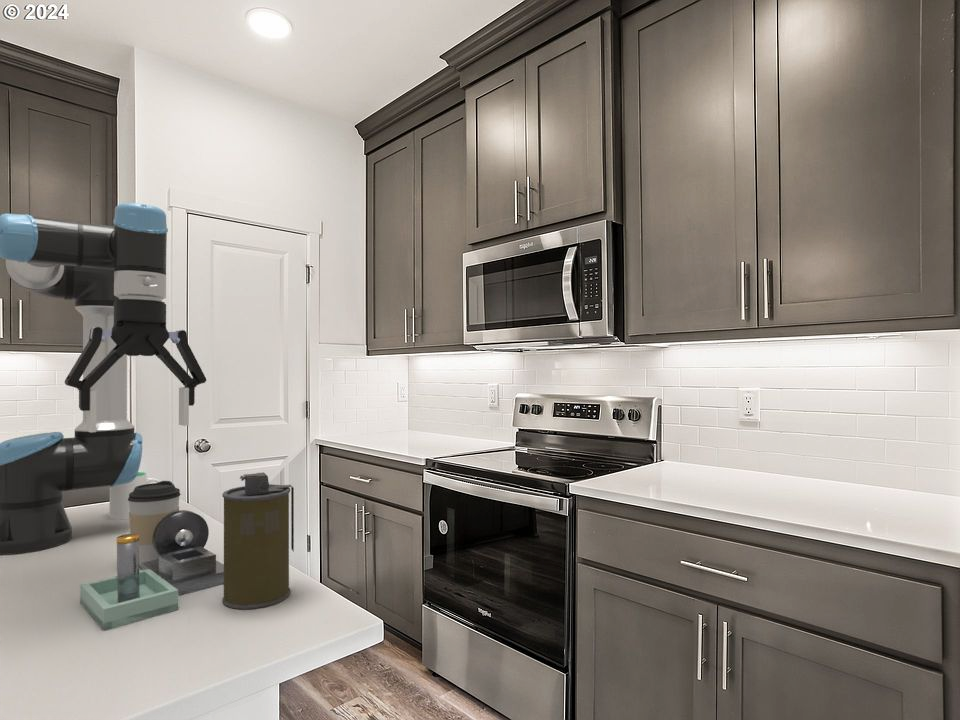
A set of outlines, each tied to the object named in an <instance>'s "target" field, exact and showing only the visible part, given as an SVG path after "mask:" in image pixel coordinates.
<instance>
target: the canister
mask: <svg viewBox="0 0 960 720" xmlns="http://www.w3.org/2000/svg"><path fill="white" fill-rule="evenodd" d="M239 479H240V481H241V482H243V481H244V486H243V485H242V486H238V487H233V488H229V489H227V490H225V491H223V493H221V494H222V495H221V496H222V498H223V564H224V584H223V597H222V603H223V605H225V606H226V607H228V608H230V609H236V610H253V609H254V610H256V609H261V608H266V607H270V606H273V605H275V604H278V603H280V602H283V601H284V600H285V599H287V598H288V597H289V596H290V595H291V588H290V548H291V550H292V552H294V547H295V546H294V541H295V540H294V539H295V537H294V533H295V531H294V530H295V529H294V528H295V527H294V526H295V524H294V523H295V522H294V518H295V517H294V516H295V515H294V514H295V513H294V510H295V509H294V503H295V502H294V501H295V500H294V499H295V495H294V494H295V492H294V489H295V488H294V486H292V484H284V485H283V484H270V481H269V476H268V475H267V474H266V473H265V472H256V473H251V474H250V473H247V474H243V475H240V477H239ZM290 493H291V494H290ZM290 495H291V496H290ZM290 497H291V500H290ZM290 501H291V502H290ZM290 503H291V504H290ZM290 505H291V506H290ZM290 507H291V508H290ZM290 509H291V512H289V511H290ZM290 515H291V516H290ZM290 517H291V522H290ZM290 523H291V524H290ZM290 525H291V529H290ZM290 531H291V533H290ZM290 534H291V535H290ZM290 536H291V537H290ZM290 538H291V541H290ZM290 542H291V543H290Z"/></svg>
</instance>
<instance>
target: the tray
mask: <svg viewBox="0 0 960 720" xmlns="http://www.w3.org/2000/svg"><path fill="white" fill-rule="evenodd" d="M139 583H140V598H137V599H133V600H129V601H125V602H121V603H118V602H117V575H116V576H112V577H107V578H104V579H98V580H94V581H90V582H86V583H81V584H80V585H79V586H80V591H79V593H80V596H79V597H80V598H79V599H80V602H79V604H81V606H82V607H83V608H84V609H85V611H86V612H87V613H88V614H89V615H90V617H91V618H92V619H93V621H95V622H96V623H97V625H99V627H100V628H101V629H102V630H103V631H106V630H109V629H113V628H117V627H121V626H124V625H128V624H131V623H135V622H139V621H142V620H145V619H149V618H153V617H156V616H160V615H163V614H168V613H171V612H174V611H178V610H179V595H178V590H177V589H176V588H175V587H173V586H172V585H171V584H169V583H168V582H167V581H165V580H164V579H162V578H161V577H160V576H158V575H157V574H156V573H154V572H153V571H152V570H150V569H146V570H142V571H141V570H139Z"/></svg>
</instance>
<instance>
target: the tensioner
mask: <svg viewBox="0 0 960 720" xmlns="http://www.w3.org/2000/svg"><path fill="white" fill-rule="evenodd" d="M209 531H210V530H209V525H208V523H207V521H206V519H204V517H203V516H201V515H200V514H197V513H195V512H194V511H190V510H187V509H181V510H180V509H179V511H175V512H172V513H170V514H168V515H167V516H165V517H164V518H163V519H162V520H161V521H160V522H159V523H158V524H157V526H156V528H155V530H154V533H153V537H152V543H153V547H154V549H155V551H156V552H157V553H158V554H159V559H156V560H151V561H147V562H142V563H141V567H140V569H141V570H140V571H142V570H146V569H150V570H152V571H153V572H154V573H156V574H157V575H158V576H160V577H161V578H162V579H164V580H165V581H167V582H168V583H169V584H171V585H172V586H173V587H175V588H176V589H177V590H178V596H181V595H185V594H189V593H193V592H197V591H200V590H205V589H209V588H212V587H215V586H219V585H224V563H222V562H219V560H217V554H216V553H214V552H212V551H210V550H208V549H206V548H205V546H206V545H207V542H208V539H209V534H210V532H209Z"/></svg>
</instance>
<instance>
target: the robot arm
mask: <svg viewBox="0 0 960 720" xmlns="http://www.w3.org/2000/svg"><path fill="white" fill-rule="evenodd" d="M112 222H113V223H112V224H113V225H106V224H100V223H99V224H98V223H90V222H81V221H72V220H64V219H56V218H50V217H49V218H48V217H41V216H34V215H30V214H27V213H25V214H24V213H23V214H17V213H2V214H1V215H0V258H1V259H2V260H5V267H6V268H5V269H6V272H7V274H8V277H9V278H10V279H11V281H13V283H15V284H16V285H17V286H19V287H21V288H22V289H24V290H26V291H28V292H31V293H34V294H37V295H38V296H42V297H46V298H51V299H56V300H68V301H74V309H75V310H76V311H77V312H78V313H79V314H81V315H82V324H83V326H82V351H81V353H80V354H79V356H78V358H77V359H76V361H75V363H74V365H73V367H72V368H71V370H70V371H69V373H68V375H67V376H66V378H65V380H64V384H65V385H66V386H67V387H72V388H75V389H77V390H78V408H79V410H80V411H82V421H81V423H80V424H79V425H78V426H76V427H75V428H74V436H73V437H65V436H64V434H63V432H61V431H52V432H51V431H50V432H42V433H41V432H40V433H35V434H29V435H24V436H19V437H14V438H11V439H10V438H9V439H6V440H4V441H2V442H0V555H13V554H14V555H15V554H22V553H24V554H25V553H30V552H36V551H41V550H45V549H49V548H52V547H56V546H60V545H62V544H65V543H67V542H69V541H70V540H72V538H73V527H72V525H71V523H70V519H69V517H68V515H67V511H66V509H65V507H64V504H63V492H66V491H67V492H68V491H77V490H86V489H93V488H102V487H103V488H104V487H109V488H110V487H113V486H114V485H120V484H127V483H130V482H132V481H133V480H134V479H135V478H136V476H137V473H138V472H140V467H141V461H142V456H143V455H142V454H143V435H141V433H138V432H135V425H134V424H133V423H131V422H130V421H129V420H128V357H135V356H136V357H138V356H141V357H142V356H143V357H153V356H155V357H157V358H158V359H159V360H160V361H161V362H162V363H163V364H164V365H165V366H166V367H167V369H169V371H170V372H171V373H172V374H173V375H174V376H175V377H176V378H177V379H178V380H179V381H180V383H181V384H182V385H183V386H184V387H182V386H181V387H180V386H179V387H178V425H179V426H182V427H183V426H184V427H186V426H187V427H188V426H189V425H190V424H189V423H190V419H189V418H190V407H191V406H194V404H195V402H196V401H195V396H196V395H195V389H196V388H197V386H198V385H202V384H205V383H206V382H207V378H206V376H205V374H204V371H203V370H202V368H201V365H200V364H199V362H198V360H197V358H196V357H195V354H194V352H193V350H192V348H191V347H190V345H189V342H188V332H187V331H186V330H184V329H182V330H181V329H180V330H176V331H169V330H168V329H167V304H166V302H165V301H163V300H165V299H166V298H167V239H168V237H167V235H168V232H169V231H168V227H167V225H168V224H167V214H166V212H165V211H164V210H163V209H162V208H160V207H158V206H156V205H155V206H154V205H151V204H145V203H140V202H138V203H136V202H125V203H124V202H123V203H120V204H117V205H116V206H115V208H114V219H113V221H112ZM168 340H171V343H173V344H175V345H176V348H177V351H178V352H179V354H180V355H181V358H182V359H183V362H184V363H185V365H186V367H187V370H188V371H189V374H188V372H187V371H186V370H185V369H184V368H183V367H182V366H181V365H180V363H179V362H178V361H177V360H176V359H175V357H173V356H172V354H171V353H170V351H169V350H168V349H167V348H166V347H165V346H164V345H165V344H166V342H167V341H168ZM81 378H82V380H80V379H81Z"/></svg>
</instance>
